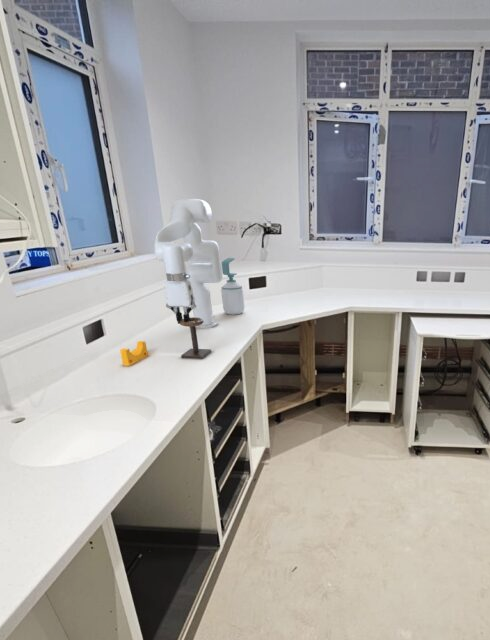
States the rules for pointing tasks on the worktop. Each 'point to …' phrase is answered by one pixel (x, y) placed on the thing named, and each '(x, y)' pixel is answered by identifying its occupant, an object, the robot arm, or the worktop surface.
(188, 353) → the post
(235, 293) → the soap bottle
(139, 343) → the pipe clamp
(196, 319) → the ring
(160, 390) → the worktop surface
